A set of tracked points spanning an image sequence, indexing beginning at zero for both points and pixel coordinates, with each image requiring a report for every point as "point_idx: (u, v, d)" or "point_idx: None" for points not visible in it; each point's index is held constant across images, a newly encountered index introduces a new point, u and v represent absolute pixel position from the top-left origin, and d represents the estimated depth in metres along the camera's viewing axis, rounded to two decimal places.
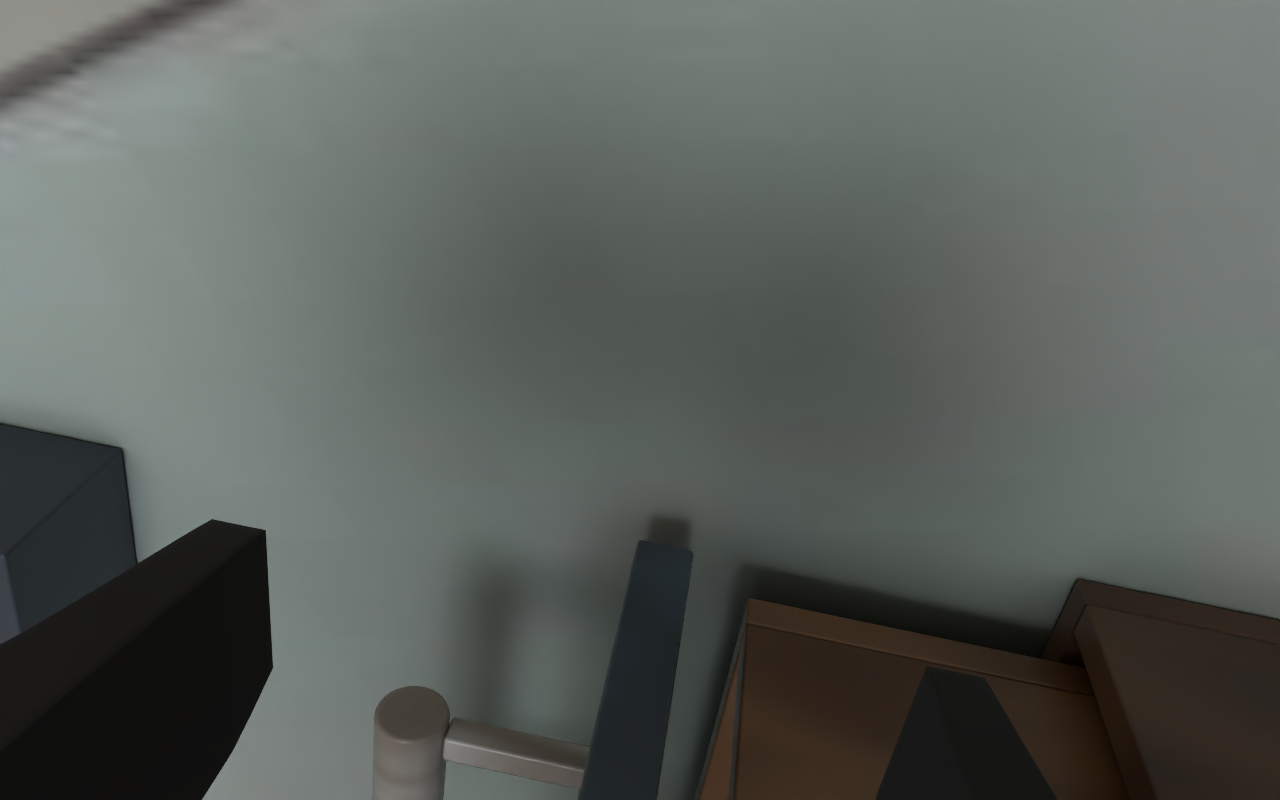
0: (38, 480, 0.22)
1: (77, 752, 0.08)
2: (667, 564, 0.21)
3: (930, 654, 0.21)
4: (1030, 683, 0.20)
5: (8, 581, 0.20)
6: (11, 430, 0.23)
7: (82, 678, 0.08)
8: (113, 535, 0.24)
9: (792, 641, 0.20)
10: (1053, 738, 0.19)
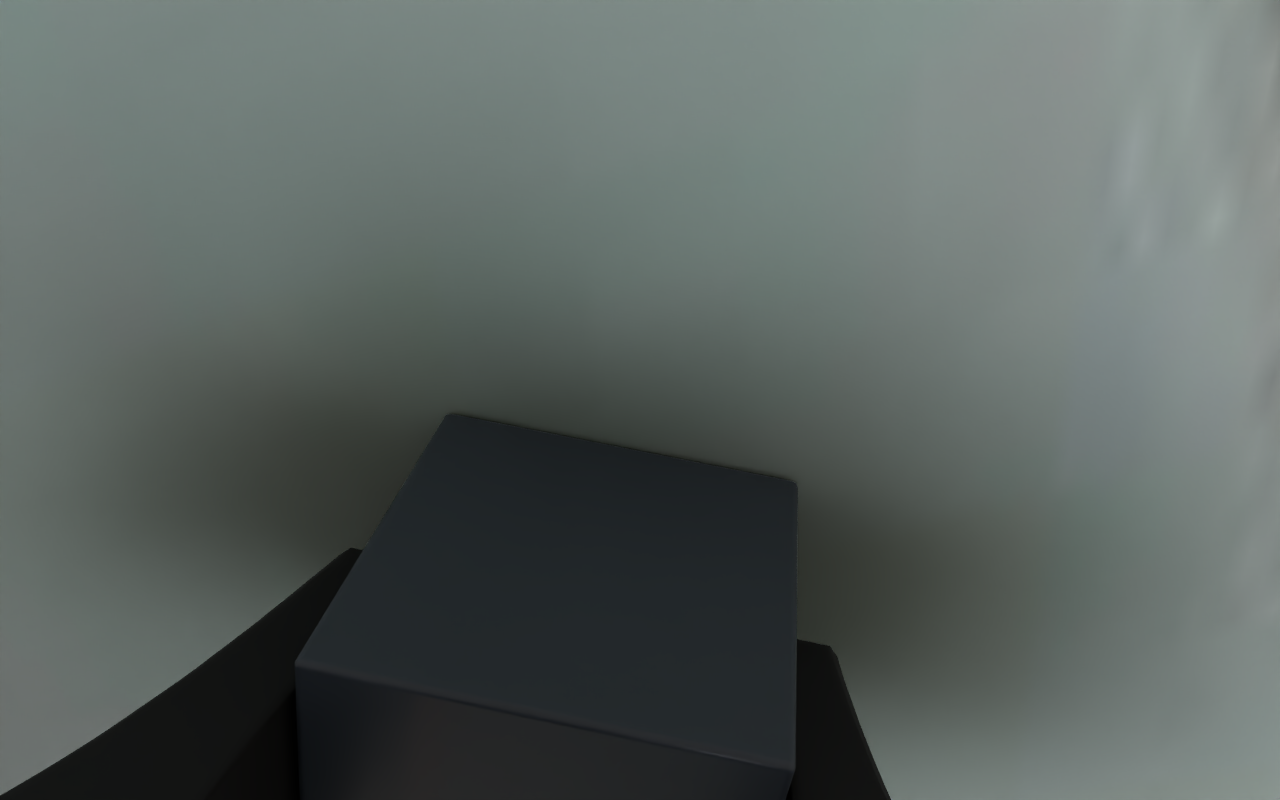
0: None
1: (258, 791, 0.08)
2: None
3: None
4: None
5: None
6: None
7: (265, 717, 0.08)
8: None
9: None
10: None
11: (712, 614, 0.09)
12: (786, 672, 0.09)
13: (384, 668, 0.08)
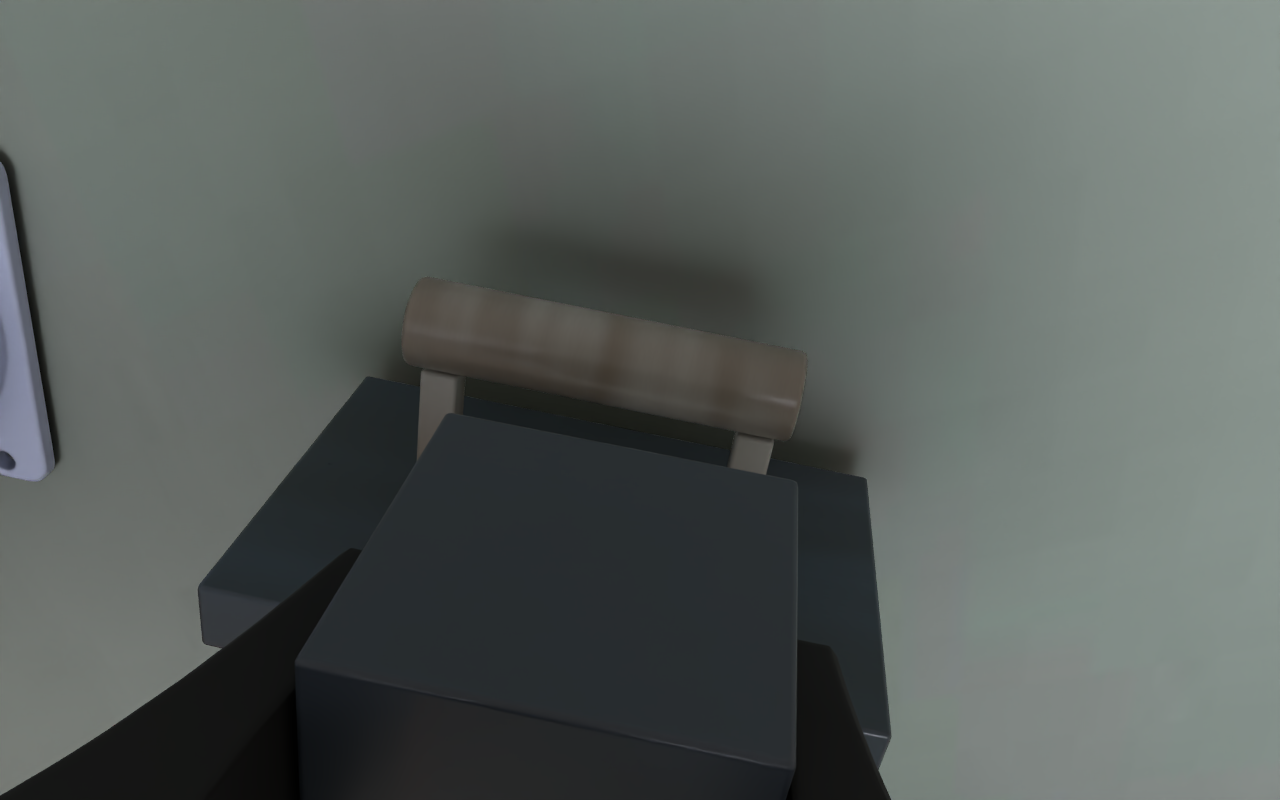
0: None
1: (258, 791, 0.08)
2: None
3: None
4: None
5: None
6: None
7: (265, 717, 0.08)
8: None
9: None
10: None
11: (713, 614, 0.09)
12: (787, 671, 0.09)
13: (384, 665, 0.08)
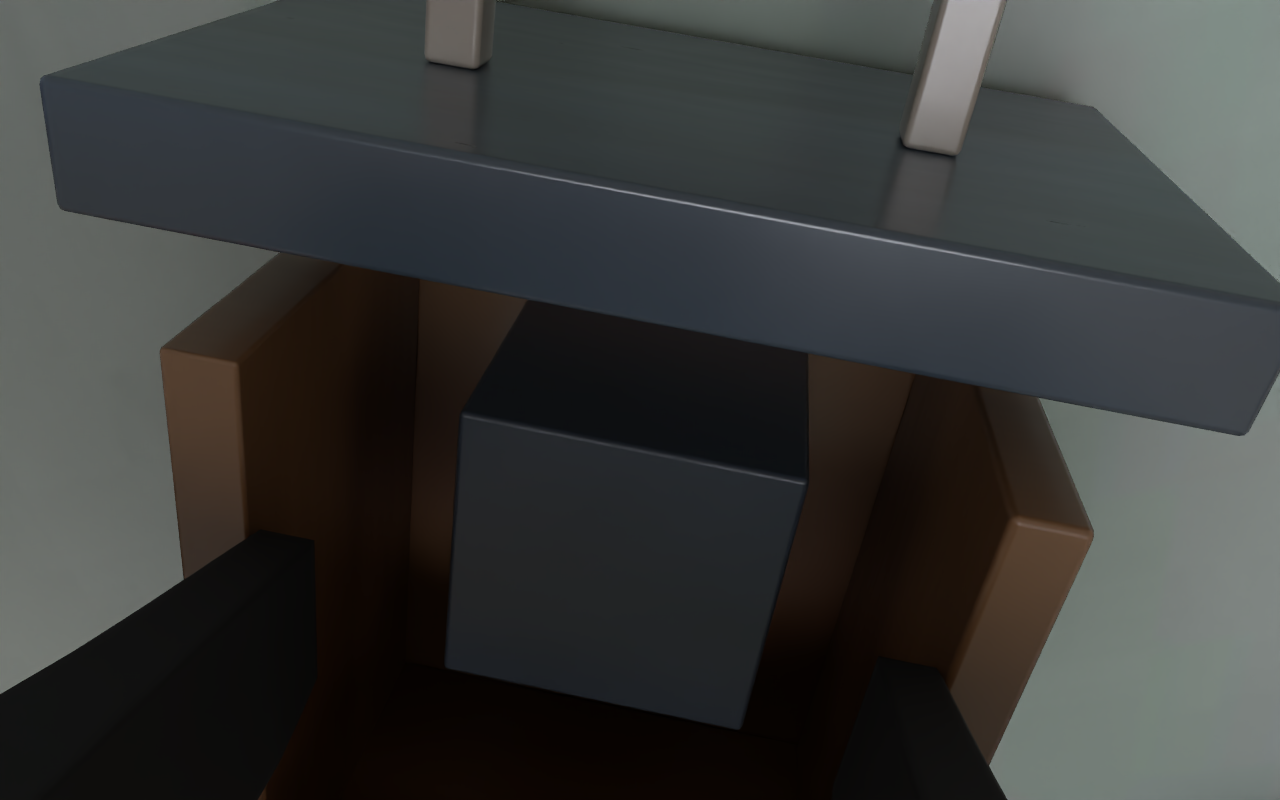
0: None
1: (141, 766, 0.08)
2: None
3: None
4: None
5: (691, 719, 0.13)
6: None
7: (146, 692, 0.08)
8: None
9: None
10: None
11: (747, 400, 0.13)
12: (801, 433, 0.12)
13: (522, 417, 0.12)
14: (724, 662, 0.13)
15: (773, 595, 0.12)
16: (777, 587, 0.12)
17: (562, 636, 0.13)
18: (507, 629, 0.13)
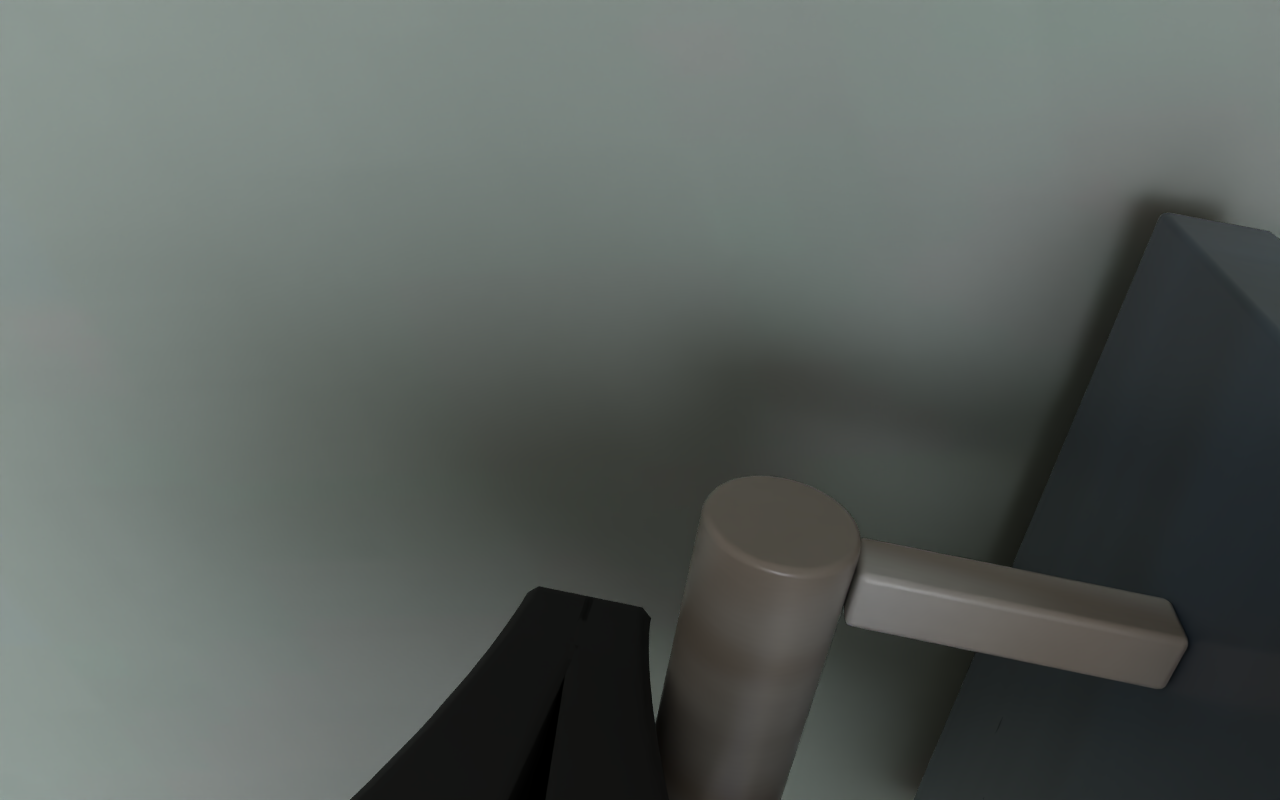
0: None
1: None
2: (1250, 243, 0.10)
3: None
4: None
5: None
6: None
7: (513, 771, 0.08)
8: None
9: None
10: None
11: None
12: None
13: None
14: None
15: None
16: None
17: None
18: None
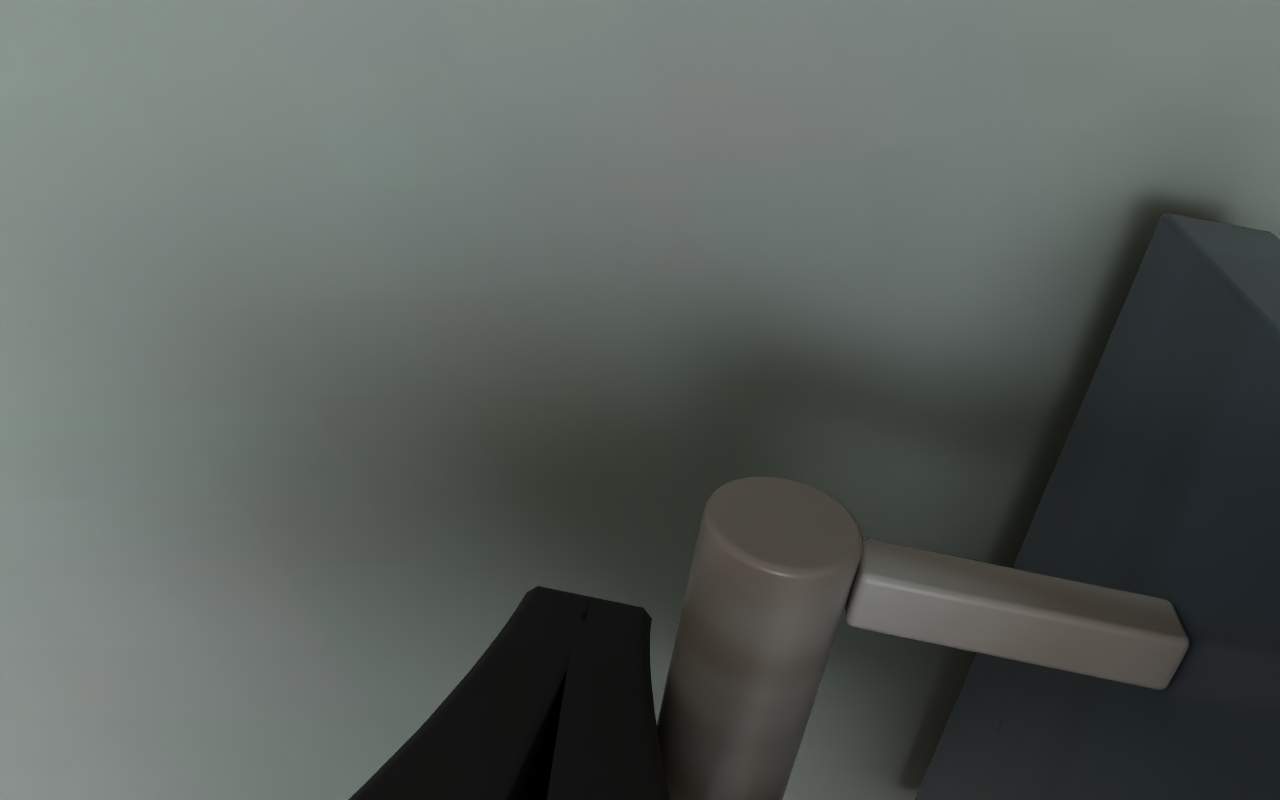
0: None
1: None
2: (1251, 244, 0.10)
3: None
4: None
5: None
6: None
7: (512, 770, 0.08)
8: None
9: None
10: None
11: None
12: None
13: None
14: None
15: None
16: None
17: None
18: None
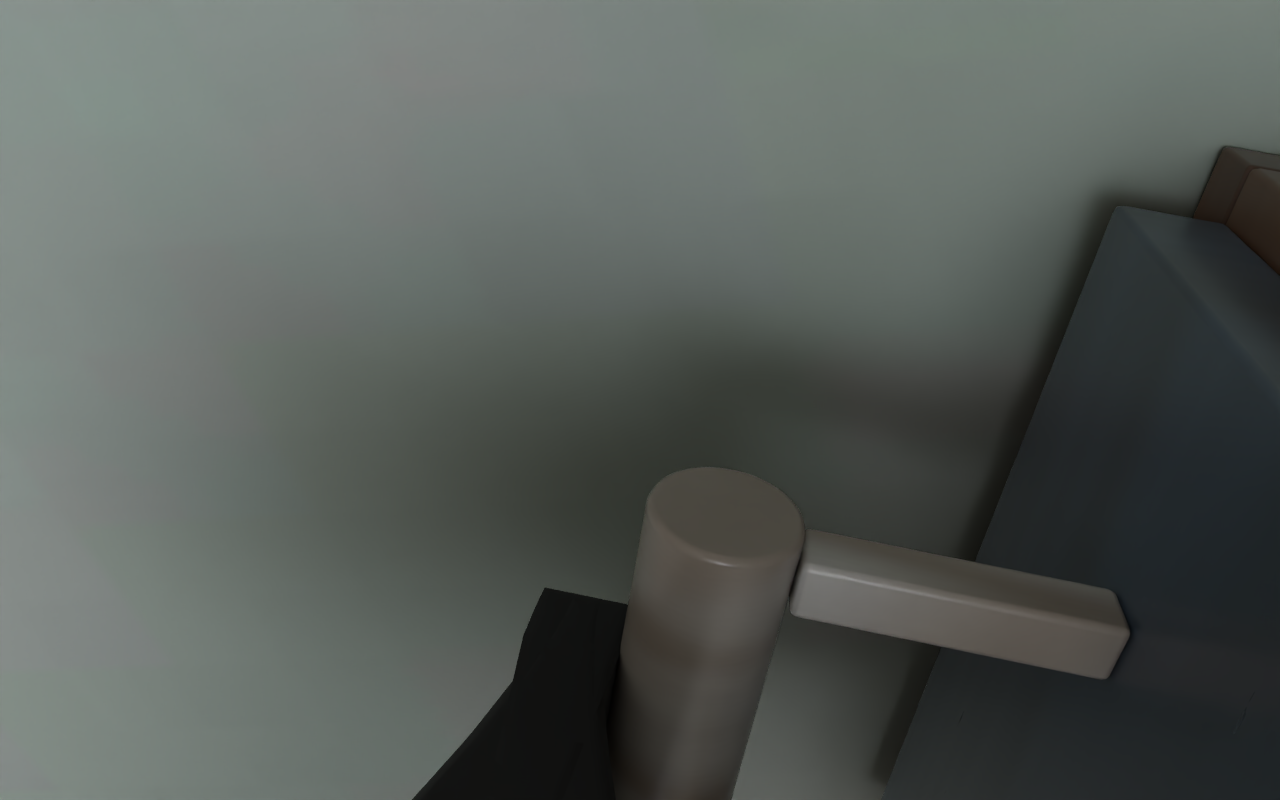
0: None
1: None
2: (1202, 236, 0.10)
3: None
4: None
5: None
6: None
7: (562, 781, 0.08)
8: None
9: None
10: None
11: None
12: None
13: None
14: None
15: None
16: None
17: None
18: None
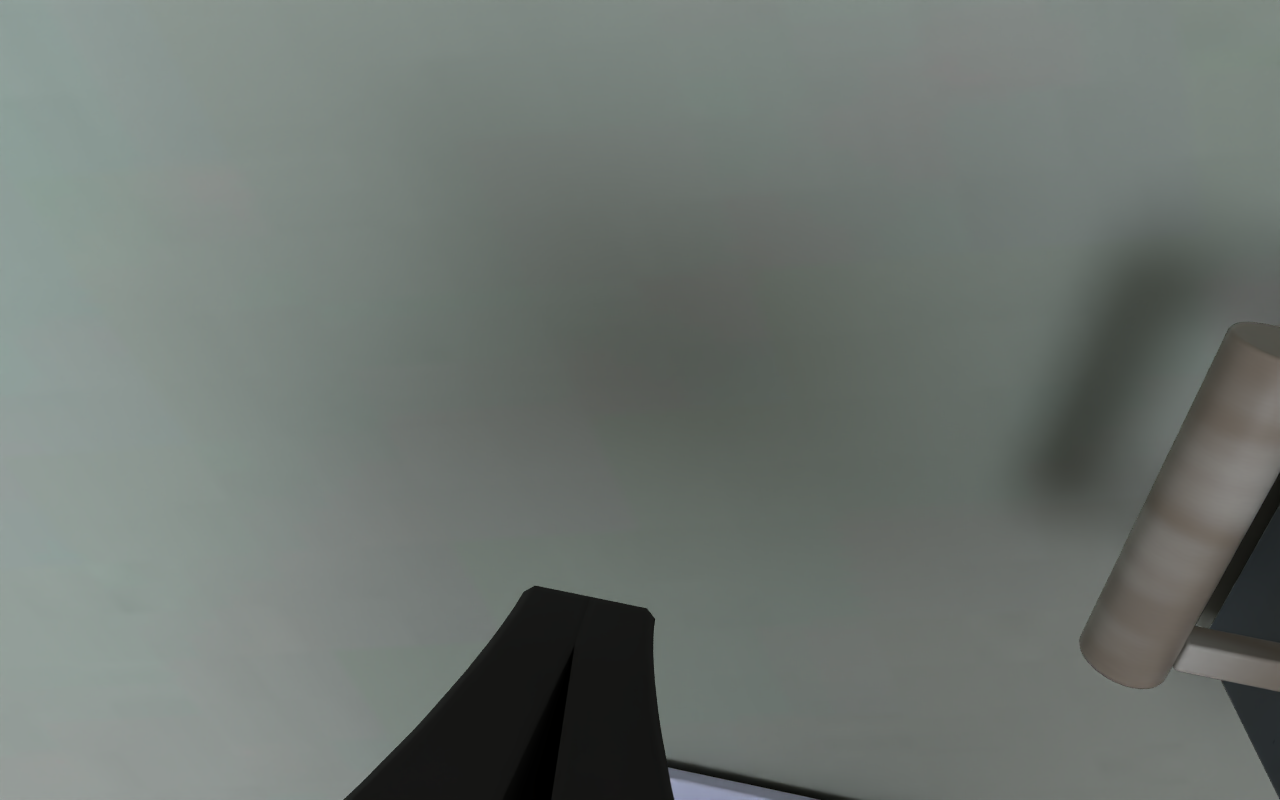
0: None
1: None
2: None
3: None
4: None
5: None
6: None
7: (508, 769, 0.08)
8: None
9: None
10: None
11: None
12: None
13: None
14: None
15: None
16: None
17: None
18: None
